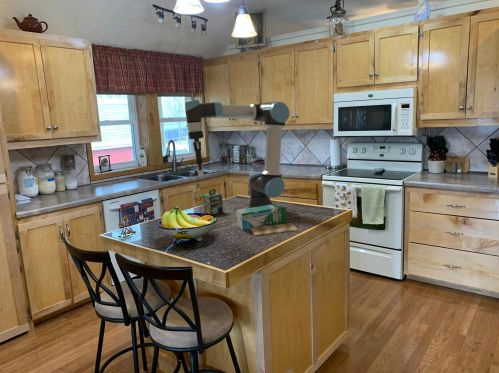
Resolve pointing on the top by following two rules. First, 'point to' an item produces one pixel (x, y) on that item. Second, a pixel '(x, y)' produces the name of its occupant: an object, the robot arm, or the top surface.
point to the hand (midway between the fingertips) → (200, 175)
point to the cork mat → (273, 229)
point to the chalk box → (212, 202)
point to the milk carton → (261, 216)
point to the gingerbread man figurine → (126, 225)
